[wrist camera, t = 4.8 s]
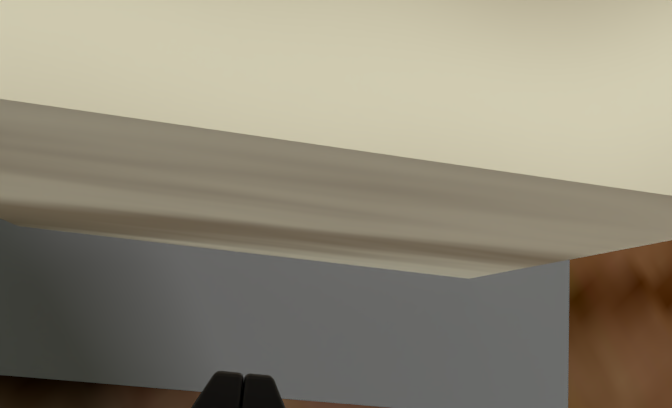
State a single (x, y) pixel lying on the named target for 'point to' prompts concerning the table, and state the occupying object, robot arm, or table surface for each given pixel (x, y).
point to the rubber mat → (279, 323)
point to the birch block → (343, 127)
